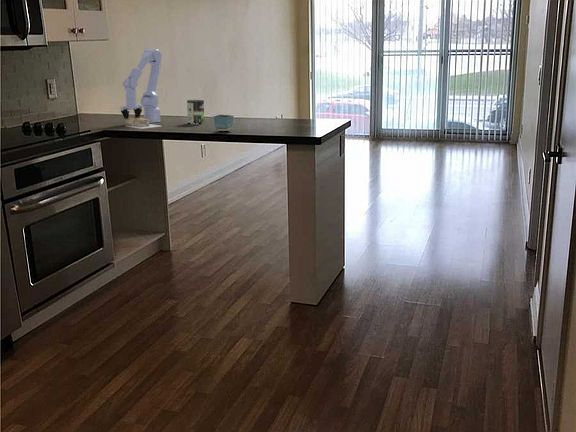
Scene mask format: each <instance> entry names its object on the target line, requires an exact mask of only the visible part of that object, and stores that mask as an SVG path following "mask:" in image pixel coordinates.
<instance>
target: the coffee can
mask: <svg viewBox="0 0 576 432" xmlns="http://www.w3.org/2000/svg"><path fill="white" fill-rule="evenodd" d="M186 102H187V103H186V105H187V106H186V107H187V124H188V123H203V122H204V123H205V106H204V105H205V104H204V103H205V100H204V99H188V100H186Z"/></svg>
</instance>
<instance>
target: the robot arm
mask: <svg viewBox="0 0 576 432" xmlns="http://www.w3.org/2000/svg"><path fill="white" fill-rule="evenodd" d="M141 56H142V57H140V60H139V62H138V64H137V66H136V67H134V68H132V69H131V71H130V73H129V74H128V75H127V77H126V78H125V79H124V80H123V83H122V85H123V87H124V91H125V104H126V105H124V106H120V112H121V114H122V116H123V119H124V120H125V119H128V118H130V117H129V115H130V110H133V111H134V112H133V113H134V118H138V117H141V114H142V111H143V117H144V118H146V119H149V124H151V123H158V122H159V123H160V122H162V120H161V111H160V108H159V107H158V105H159V95H158V94H157V92H156V91H157V87H158V82H159V78H160V77H159V76H160V72H161V66H162V56H163V54H162V52H161V50H160V49H158V48H156V49H153V48H152V49H151V48H149V49H148V48H146V49H144V50H143V52H142V53H141ZM148 64H150V73H149V77H148V83H147V86H146V87H147V88H146V91H145V92H144V93H143V94H142V97H141V99H140V104H141V105H137V94H136V88H137V87H138V83H139V80H140V78H141V76H142V75H143V72H142V71H143V69H145V67H146V66H147V65H148Z"/></svg>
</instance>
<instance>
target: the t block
mask: <svg viewBox="0 0 576 432" xmlns="http://www.w3.org/2000/svg"><path fill="white" fill-rule="evenodd" d="M124 123H125V124H124V127H126V126H141V127H147V126H149V124H150V123H149V119H146V118H144V116H143V117H141V116H140V117H138V118H135V117H129V118H128V119H124Z"/></svg>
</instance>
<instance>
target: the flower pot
mask: <svg viewBox="0 0 576 432" xmlns="http://www.w3.org/2000/svg"><path fill="white" fill-rule="evenodd" d="M213 122H214V123H213V124H214V127H215V129H216V130H217V129H227V128H230V127H231V128H232V127H233V125H234V115H230V114H218V115H213Z"/></svg>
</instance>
